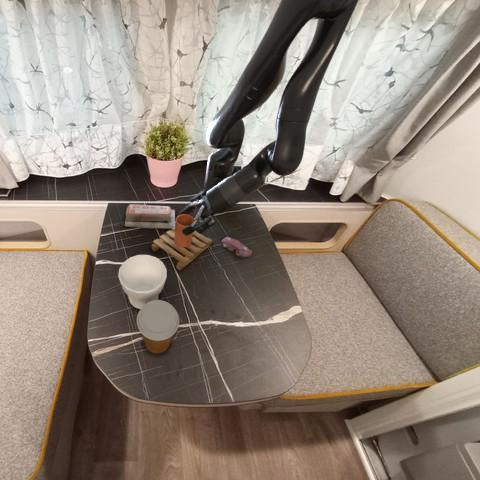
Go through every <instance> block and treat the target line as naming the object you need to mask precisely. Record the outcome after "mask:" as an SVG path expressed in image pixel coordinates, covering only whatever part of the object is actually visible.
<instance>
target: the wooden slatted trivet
mask: <svg viewBox="0 0 480 480" xmlns="http://www.w3.org/2000/svg"><path fill="white" fill-rule="evenodd" d="M174 233H175V226H174V227H173V228H172V229H169V230H168V231H166V232H165V233H163V234H162V235H160V236H159V238H156V239H154V240H153V243H152V244H151V250H152V251H153V252H157V251H159V250H160V249H161V250H163V251H165V253H167V254H168V255H169V256H171V257H172V258H174V259H175V260H176V261H178V262H177V263H176V268H175V269H177V270H178V271H182V270H183V269H184V268H185V267H186V266H187V265H189V264H190V263H192V261H193V260H194V259H196V258H197V257H198V256H199V255H201V254H202V253H203V252H204V251H205V250H206V249H207V248H209V247H210V246H211V245H212V242H213V239H212V238H210V237H207V236H205V235H203V233H201V234H199V233H198V232H196V231H194V232H193V237H192V243H191V245H190V246H188V247H179V246H177V245H176V244H175V243H174ZM178 252H179V253H178Z"/></svg>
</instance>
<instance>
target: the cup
mask: <svg viewBox="0 0 480 480" xmlns="http://www.w3.org/2000/svg"><path fill="white" fill-rule="evenodd" d="M167 270H168V269H167V267H166V265H165V264H164V262H163V261H162V260H160V259H159V258H158V257H156V256H153V255H150V254H136V255H134V256H131V257H128V259H126V260H124V261H123V262H122V264H121V265H120V266H119V269H118V275H117V277H118V280H119V282H120V286H121V287H122V289H123V292H124V293H125V294H126V295H127V298H128V301H129V304H130V305H131V306H133V307H134V308H136V309H139V310H140V309H141V308H142V307H143V306H144V305H145V304H147V303H148V302H150V301H154V300H159V294H160V293H162V292H163V291H162V290H163V289H164V286H165V284H166V281H167V276H168V275H167V274H168V273H167Z"/></svg>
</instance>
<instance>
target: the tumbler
mask: <svg viewBox="0 0 480 480" xmlns="http://www.w3.org/2000/svg"><path fill="white" fill-rule="evenodd" d="M194 220H195V217H193V216H192V215H190V214H188V215H187V214H182V215H181V214H179V215H177V216H176V217H175V233H174V239H173V241H174V243H175V244H176V245H177V246H179V247H183V248H186V247H188V246H190V245H191V244H193V243H192V237H194V236H193V233H191V234H189V235H187V236H186V235H184V234H183V233H182V230H183V229H185V228H186V227H188V226H189V225H192V223H193V222H194Z"/></svg>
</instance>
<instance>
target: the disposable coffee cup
mask: <svg viewBox="0 0 480 480" xmlns="http://www.w3.org/2000/svg"><path fill="white" fill-rule="evenodd" d="M136 326H137V329H138V331H139V333H140V334H141V337H142V339H143V342H144V346H145V347H146V348H145V349H147V350H148V351H149V352H151V353H153V354H162V353H165V352H166V351H167V350H168V348H169V347H170V344H171V341H172V339H173V337H174V335H175V334H176V332H177V331H178V329H179V327H180V316H179V313H178V311H177V310H176V309H175V306H173V305H172V304H171V303H169V302H168V301H165V300H160V299H158V300H154V301H150V302H148V303H147V304H145V305H144V306H143V307H142V308H141V309H139V311H138V313H137V315H136Z"/></svg>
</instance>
